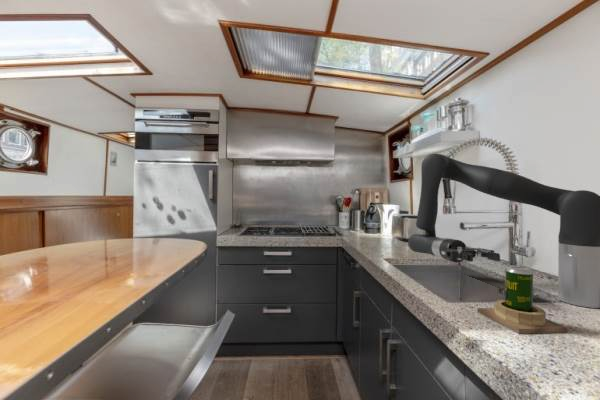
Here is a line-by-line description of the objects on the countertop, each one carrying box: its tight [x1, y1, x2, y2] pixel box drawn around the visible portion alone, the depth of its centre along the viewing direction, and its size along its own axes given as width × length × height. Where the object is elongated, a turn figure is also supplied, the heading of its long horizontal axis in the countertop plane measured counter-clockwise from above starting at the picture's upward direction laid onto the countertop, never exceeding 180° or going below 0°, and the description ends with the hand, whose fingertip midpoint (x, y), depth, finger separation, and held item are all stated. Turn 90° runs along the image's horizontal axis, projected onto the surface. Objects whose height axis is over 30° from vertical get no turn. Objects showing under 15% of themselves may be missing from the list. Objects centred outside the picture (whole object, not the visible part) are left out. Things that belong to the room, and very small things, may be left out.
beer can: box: [504, 264, 534, 313], centre depth 67 cm, size 5×5×12 cm
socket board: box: [477, 299, 568, 334], centre depth 67 cm, size 12×12×4 cm
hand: (485, 257), depth 79 cm, fingers open, 8 cm apart
